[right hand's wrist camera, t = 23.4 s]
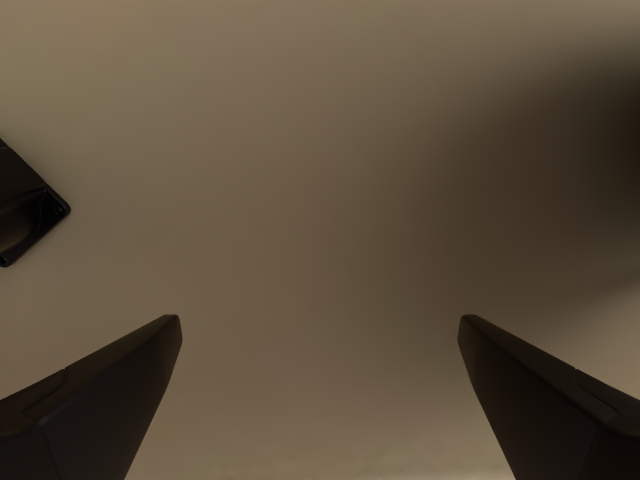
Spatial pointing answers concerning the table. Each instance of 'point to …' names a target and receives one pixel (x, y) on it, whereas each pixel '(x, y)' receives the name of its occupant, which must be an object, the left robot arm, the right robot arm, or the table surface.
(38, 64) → the table surface
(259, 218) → the table surface
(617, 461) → the right robot arm
